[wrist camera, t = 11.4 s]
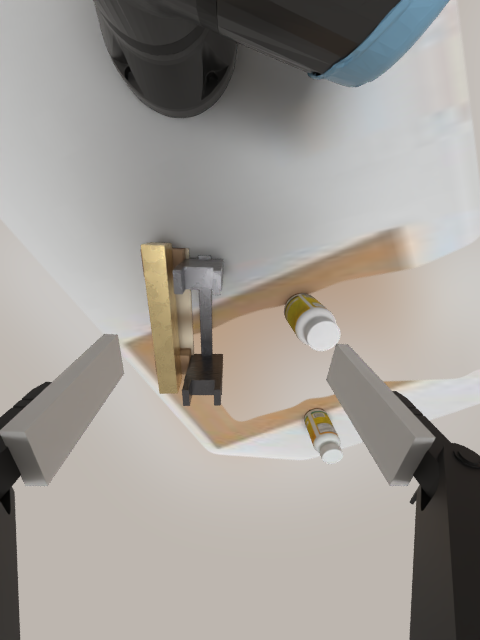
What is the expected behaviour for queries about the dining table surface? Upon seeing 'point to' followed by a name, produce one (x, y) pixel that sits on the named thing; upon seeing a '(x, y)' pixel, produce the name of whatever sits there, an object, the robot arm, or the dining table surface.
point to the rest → (183, 314)
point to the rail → (163, 314)
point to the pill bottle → (312, 322)
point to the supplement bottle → (323, 436)
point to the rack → (202, 325)
